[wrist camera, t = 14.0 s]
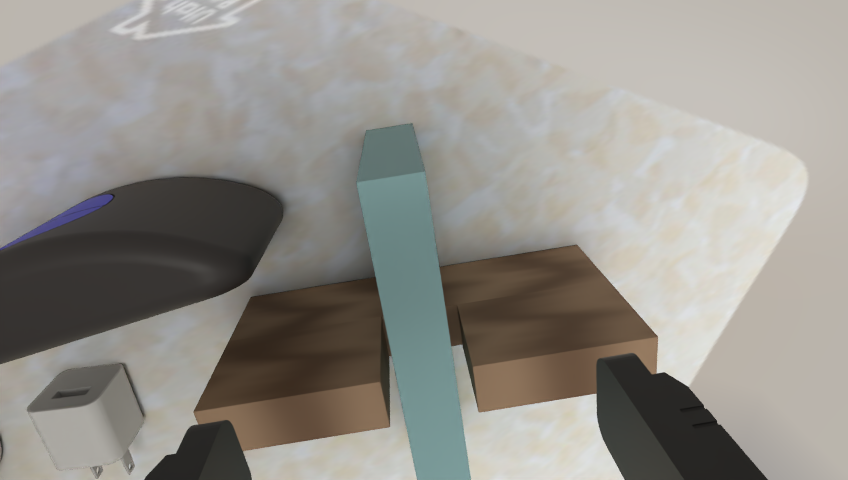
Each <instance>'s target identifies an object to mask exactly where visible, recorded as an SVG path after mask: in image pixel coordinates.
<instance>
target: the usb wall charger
mask: <svg viewBox="0 0 848 480" xmlns="http://www.w3.org/2000/svg"><path fill="white" fill-rule="evenodd" d="M27 412H28V414H29V416H30V418H31V420H32V421H33V423H34V425H35V427H36V429H37V431H38V433H39V435H40V437H41V439H42V441H43V443H44V445H45V447H46V449H47V451H48V453H49V455H50V457H51V459H52V461H53V463H54V465H55V467H56V469H57V470H70V469H78V468H86V467H90V469H91V471H92V472H93V474H94V476H95V478H96V479H98V478H99V476H100V475H101V473H102V471H103V469H102V465H109V464H112V463H114V462H116V461H118V460H119V459H121V461H122V463H123V465H124V467H125V469H126V471H127V473H128V474H129V475H130V474H131V472H132V470H133V469H134V467H135V465H134V463H133V460H132V457H131V454H130V452H129V450H128V448H129V446H130V445H131V443H132V441H133V440H134V438H135V436H136V435H137V433H138V432H139V430H140V428H141V427H142V425H143V423H144V418H143V416H142V413H141V411H140V408H139V406H138V403H137V401H136V398H135V396H134V393H133V390H132V388H131V385H130V383H129V380H128V378H127V375H126V373H125V370H124V368H123V365H122V364H120V363H117V364H109V365H101V366H92V367H84V368H76V369H69V370H66V371H64V372H62V373H60V374H59V375H57V376H56V377H55V378H54V379H53V380H52V382H51V383H50V384H49V385H48V386H47V387H46V388H45V389H44V390H43V391H42V392H41V393H40V394H39V395H38V396H37V397H36V398H35V400H34V401H33V402H32V403H31V404H30V405H29V406H28V407H27ZM129 464H131V467H130V470H129ZM97 467H98V468H99V471H98V474H97V472H96V470H97Z"/></svg>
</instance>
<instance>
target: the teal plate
mask: <svg viewBox="0 0 848 480" xmlns="http://www.w3.org/2000/svg"><path fill="white" fill-rule="evenodd" d="M356 184H357V189H358V193H359V198H360V203H361V208H362V213H363V218H364V223H365V228H366V232H367V237H368V242H369V247H370V252H371V257H372V262H373V267H374V271H375V276H376V281H377V286H378V291H379V296H380V301H381V306H382V310H383V315H384V320H385V325H386V330H387V335H388V340H389V345H390V349H391V354H392V359H393V364H394V369H395V374H396V379H397V384H398V388H399V393H400V398H401V403H402V408H403V413H404V418H405V423H406V427H407V432H408V437H409V442H410V447H411V452H412V457H413V462H414V466H415V471H416V476H417V480H471V476H470V470H469V463H468V456H467V450H466V443H465V436H464V429H463V423H462V416H461V409H460V403H459V396H458V389H457V382H456V376H455V369H454V362H453V355H452V349H451V342H450V335H449V329H448V322H447V315H446V308H445V302H444V295H443V288H442V282H441V275H440V268H439V261H438V255H437V248H436V241H435V234H434V228H433V221H432V214H431V208H430V201H429V194H428V187H427V181H426V174H425V169H424V165H423V162H422V158H421V154H420V151H419V147H418V143H417V140H416V136H415V132H414V128H413V125H412V123H411V124H405V125H399V126H393V127H386V128H380V129H374V130H368V131H366V135H365V140H364V145H363V150H362V156H361V161H360V166H359V171H358V176H357V181H356Z"/></svg>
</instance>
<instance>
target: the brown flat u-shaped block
mask: <svg viewBox="0 0 848 480" xmlns="http://www.w3.org/2000/svg"><path fill="white" fill-rule="evenodd" d="M439 268H440V275H441V282H442V288H443V295H444V302H445V308H446V315H447V322H448V329H449V335H450V342H451V346H456V345H463V349H464V353H465V357H466V361H467V365H468V370H469V374H470V378H471V382H472V386H473V390H474V395H475V399H476V403H477V407H478V411H479V412H485V411H491V410H498V409H504V408H510V407H516V406H522V405H528V404H534V403H541V402H547V401H553V400H559V399H565V398H571V397H578V396H584V395H590V394H596V393H597V385H596V364H597V360H598V359H599V358H604V357H610V356H616V355H621V354H627V353H634V354H636V355H637V356H638V357H639V359H640V360H641V361H642V362H643V364H644V365H645V366H646V367H647V369H648V370H649V371H650V373H651V374H656V371H657V348H658V336H657V335H656V334H655V333H654V332H653V331H652V329H651V328H650V327H649V326H648V325H647V324H646V323H645V322H644V320H643V319H642V318H641V317H640V316H639V315H638V314H637V312H636V311H635V310H634V309H633V308H632V307H631V306H630V304H629V303H628V302H627V301H626V300H625V299H624V298H623V297H622V295H621V294H620V293H619V292H618V291H617V290H616V289H615V287H614V286H613V285H612V284H611V283H610V282H609V281H608V279H607V278H606V277H605V276H604V275H603V274H602V273H601V272H600V270H599V269H598V268H597V267H596V266H595V265H594V264H593V262H592V261H591V260H590V259H589V258H588V257H587V256H586V254H585V253H584V252H583V251H582V250H581V249H580V248H579V246H578V245H574V246H567V247H561V248H555V249H549V250H542V251H536V252H530V253H524V254H517V255H511V256H505V257H499V258H492V259H486V260H480V261H474V262H468V263H461V264H455V265H449V266H443V267H439ZM389 356H392V354H391V349H390V345H389V340H388V335H387V330H386V325H385V320H384V315H383V310H382V306H381V301H380V296H379V291H378V286H377V281H376V277H374V278H368V279H361V280H355V281H349V282H343V283H337V284H330V285H324V286H318V287H312V288H305V289H299V290H293V291H287V292H280V293H274V294H268V295H262V296H255V297H251V298H250V300H249V302H248V304H247V306H246V308H245V310H244V312H243V314H242V316H241V318H240V320H239V322H238V324H237V326H236V328H235V330H234V332H233V334H232V336H231V338H230V340H229V342H228V344H227V346H226V348H225V350H224V352H223V354H222V356H221V358H220V360H219V362H218V364H217V366H216V368H215V370H214V372H213V374H212V376H211V378H210V380H209V382H208V384H207V386H206V388H205V390H204V392H203V394H202V396H201V398H200V400H199V402H198V404H197V406H196V408H195V410H194V415H195V417H196V420H197V422H198V425H199V424H205V423H211V422H217V421H223V420H229V421H230V422H231V423H232V425H233V427H234V429H235V432H236V435H237V437H238V440H239V443H240V446H241V448H242V451H246V450H252V449H258V448H264V447H270V446H276V445H282V444H289V443H295V442H301V441H307V440H313V439H319V438H325V437H332V436H338V435H344V434H350V433H356V432H362V431H369V430H375V429H381V428H387V427H390V382H389Z"/></svg>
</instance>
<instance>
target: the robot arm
mask: <svg viewBox="0 0 848 480" xmlns="http://www.w3.org/2000/svg"><path fill="white" fill-rule="evenodd" d="M596 385H597V418H598V424H599V428H600V431H601V434H602V437H603V440H604V442H605V444H606V446H607V448H608V450H609V452H610V453H611V455H612V457H613V459H614V461H615V463H616V464H617V466H618V468H619V470H620V472H621V474H622V476H623V477H624V479H625V480H768V479H767V478H766V477H765V476H764V475H763V474H762V472H761V471H760V470H759V469H758V468H757V467H756V466H755V464H754V463H753V462H752V461H751V460H750V458H749V457H748V456H747V455H746V454H745V453H744V451H743V450H742V449H741V448H740V447H739V446H738V444H737V443H736V442H735V441H734V440H733V439H732V437H731V436H730V435H729V434H728V433H727V432H726V431H725V429H724V428H723V427H722V426H721V425H718V424H717V420H716V419H715V418H714V417H713V415H712V414H711V413H710V412H709V411H708V410H707V409H705V408H704V405H703V404H702V403H701V402H700V401H699V399H698V398H697V397H696V396H695V394H694V393H693V392H692V391H691V390H690V389H689V387H688V386H686V385H684V384H683V383H681V382H679V381H678V380H676V379H675V378H673V377H671V376H670V375H668V374H666V373H665V372H664V373H658V374H651V373H650V371H649V370H648V369H647V367H646V366H645V365H644V364H643V362H642V361H641V360H640V359H639V357H638V356H637V355H636V354H634V353H627V354H621V355H616V356H610V357H604V358H599V359H598V360H597V364H596ZM1 453H2V449H1V443H0V460H1ZM145 480H252V478H251V473H250V470H249V467H248V464H247V462H246V459H245V456H244V454H243V451H242V448H241V446H240V443H239V440H238V437H237V435H236V432H235V429H234V427H233V425H232V423H231V422H230V421H229V420H223V421H217V422H211V423H205V424H199V425H193V426H191V427H190V428H189V429H188V430H187V432H186V434H185V436H184V438H183V440H182V442H181V444H180V446H179V448H178V451H177V453H176V454H171V455H166V456H165V457H164V458H163V459H162V460H161V461H160V463H159V464H158V465H157V466H156V467H155V468H154V469H153V470H152V471H151V472H150V473H149V474H148V475H147V476H146V478H145Z"/></svg>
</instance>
